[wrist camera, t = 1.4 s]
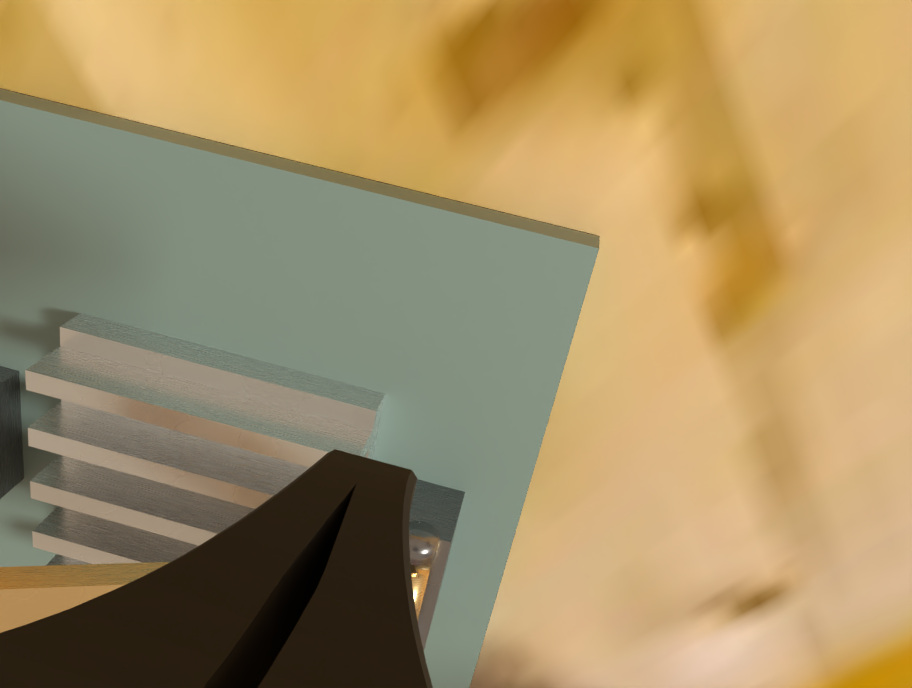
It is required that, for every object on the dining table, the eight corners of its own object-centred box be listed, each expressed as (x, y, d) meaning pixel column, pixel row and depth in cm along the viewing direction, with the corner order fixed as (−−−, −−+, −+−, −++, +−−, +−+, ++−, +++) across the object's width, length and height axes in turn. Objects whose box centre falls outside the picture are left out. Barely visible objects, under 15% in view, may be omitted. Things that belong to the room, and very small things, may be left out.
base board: (448, 751, 30) (443, 776, 29) (-13, 616, 31) (-32, 636, 30) (599, 236, 21) (598, 248, 20) (-56, 74, 22) (-84, 79, 21)
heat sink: (424, 652, 26) (400, 741, 23) (-7, 528, 27) (-84, 599, 24) (483, 419, 22) (463, 490, 19) (-24, 285, 23) (-119, 332, 20)
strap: (407, 632, 23) (414, 658, 22) (-134, 666, 19) (-148, 699, 18) (426, 551, 22) (434, 575, 21) (-151, 568, 18) (-167, 599, 17)
